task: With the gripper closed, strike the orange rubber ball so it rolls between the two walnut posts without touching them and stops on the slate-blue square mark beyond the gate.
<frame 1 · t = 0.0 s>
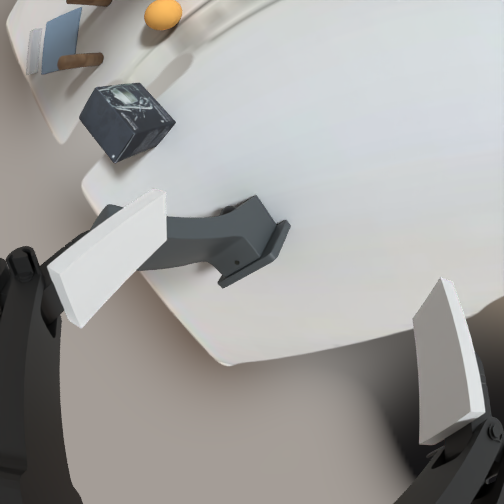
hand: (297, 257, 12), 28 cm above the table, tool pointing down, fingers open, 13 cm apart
post 1: (107, 0, 28), on the table
grey curved piece: (233, 200, 44), on the table
post 2: (98, 59, 35), on the table
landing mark: (59, 42, 34), on the table
box: (148, 113, 40), on the table
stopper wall: (37, 50, 36), on the table
ball: (163, 14, 27), on the table
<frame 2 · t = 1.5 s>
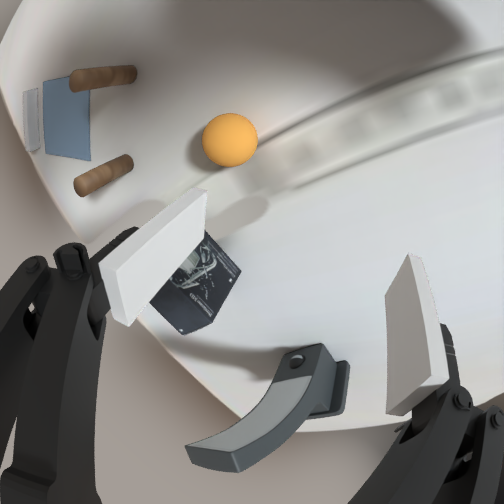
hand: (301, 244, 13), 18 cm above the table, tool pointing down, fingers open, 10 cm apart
post 1: (129, 74, 27), on the table
grey curved piece: (298, 342, 43), on the table
post 2: (126, 163, 35), on the table
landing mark: (63, 117, 33), on the table
box: (204, 251, 39), on the table
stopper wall: (35, 118, 35), on the table
ball: (229, 139, 26), on the table
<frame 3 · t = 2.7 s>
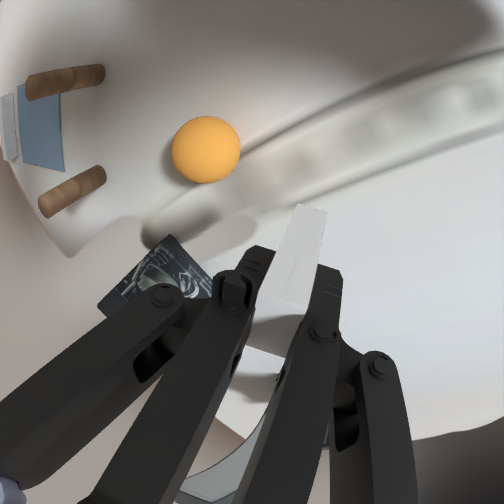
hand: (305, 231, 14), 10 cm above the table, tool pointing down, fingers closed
post 1: (97, 74, 22), on the table
grey curved piece: (294, 370, 38), on the table
post 2: (99, 174, 30), on the table
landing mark: (37, 124, 28), on the table
box: (187, 274, 34), on the table
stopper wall: (12, 125, 30), on the table
ball: (205, 149, 21), on the table
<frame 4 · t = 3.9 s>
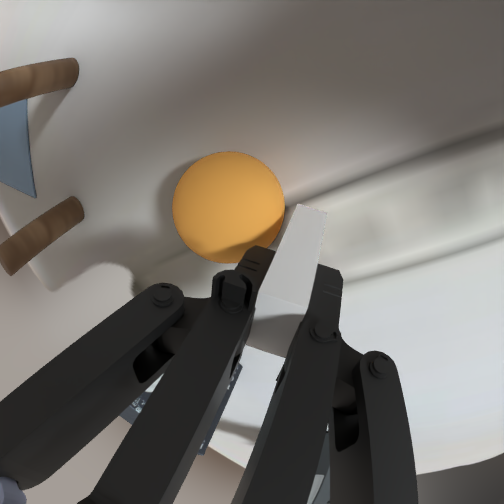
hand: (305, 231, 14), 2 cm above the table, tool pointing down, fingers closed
post 1: (69, 72, 14), on the table
grey curved piece: (308, 428, 31), on the table
post 2: (75, 209, 22), on the table
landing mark: (5, 135, 20), on the table
box: (190, 337, 27), on the table
ball: (228, 207, 14), on the table
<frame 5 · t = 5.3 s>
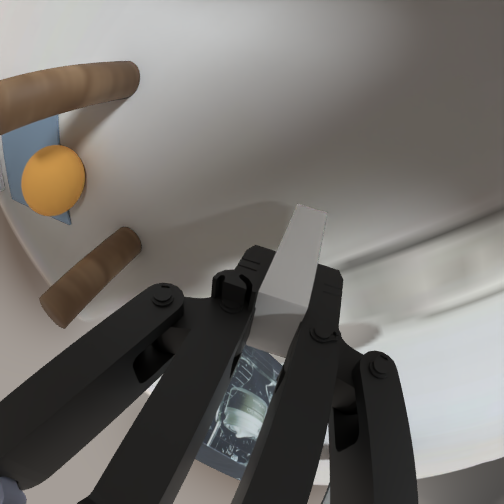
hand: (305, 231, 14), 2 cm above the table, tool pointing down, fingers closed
post 1: (124, 79, 14), on the table
post 2: (129, 241, 21), on the table
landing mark: (26, 150, 20), on the table
box: (260, 369, 26), on the table
ball: (52, 180, 17), on the table
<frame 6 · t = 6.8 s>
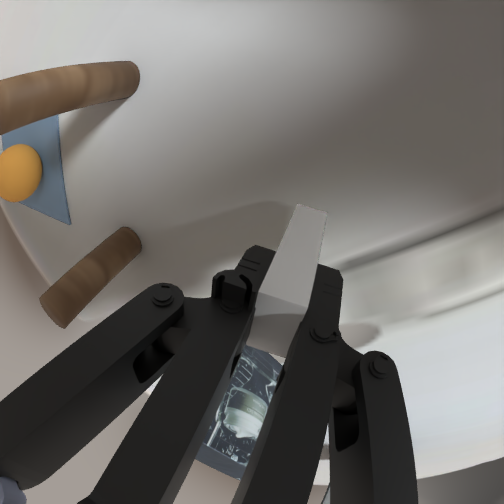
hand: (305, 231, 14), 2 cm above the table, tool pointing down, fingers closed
post 1: (124, 79, 14), on the table
post 2: (129, 241, 21), on the table
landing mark: (26, 150, 20), on the table
box: (260, 369, 26), on the table
ball: (17, 172, 18), on the table
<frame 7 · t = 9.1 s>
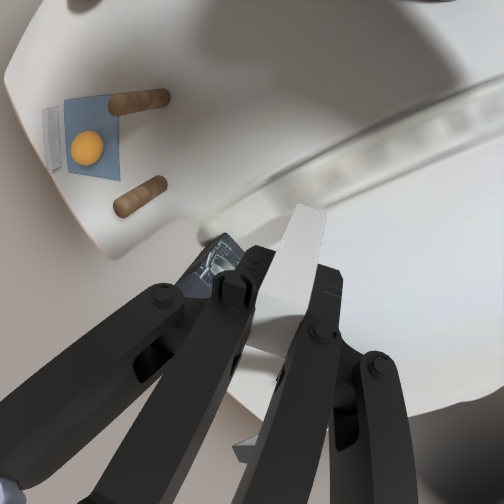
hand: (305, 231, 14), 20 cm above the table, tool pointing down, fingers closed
post 1: (161, 98, 31), on the table
grey curved piece: (323, 345, 46), on the table
post 2: (159, 183, 38), on the table
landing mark: (89, 137, 37), on the table
box: (237, 265, 42), on the table
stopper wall: (56, 136, 39), on the table
ball: (87, 148, 35), on the table
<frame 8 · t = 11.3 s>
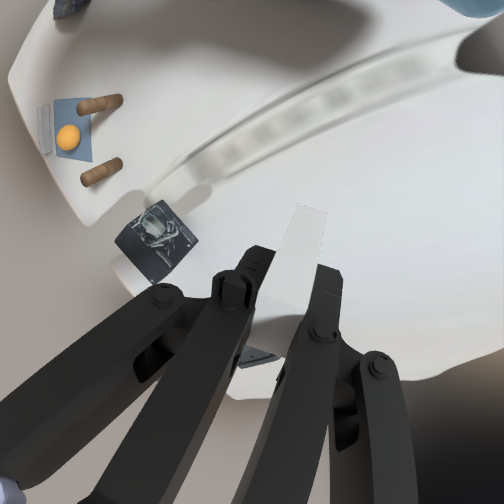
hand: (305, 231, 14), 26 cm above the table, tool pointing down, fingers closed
post 1: (118, 100, 40), on the table
grey curved piece: (247, 301, 56), on the table
post 2: (118, 163, 47), on the table
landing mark: (71, 129, 46), on the table
box: (172, 226, 52), on the table
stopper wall: (48, 128, 48), on the table
ball: (68, 137, 44), on the table
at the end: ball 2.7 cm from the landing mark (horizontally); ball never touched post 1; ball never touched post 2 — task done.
